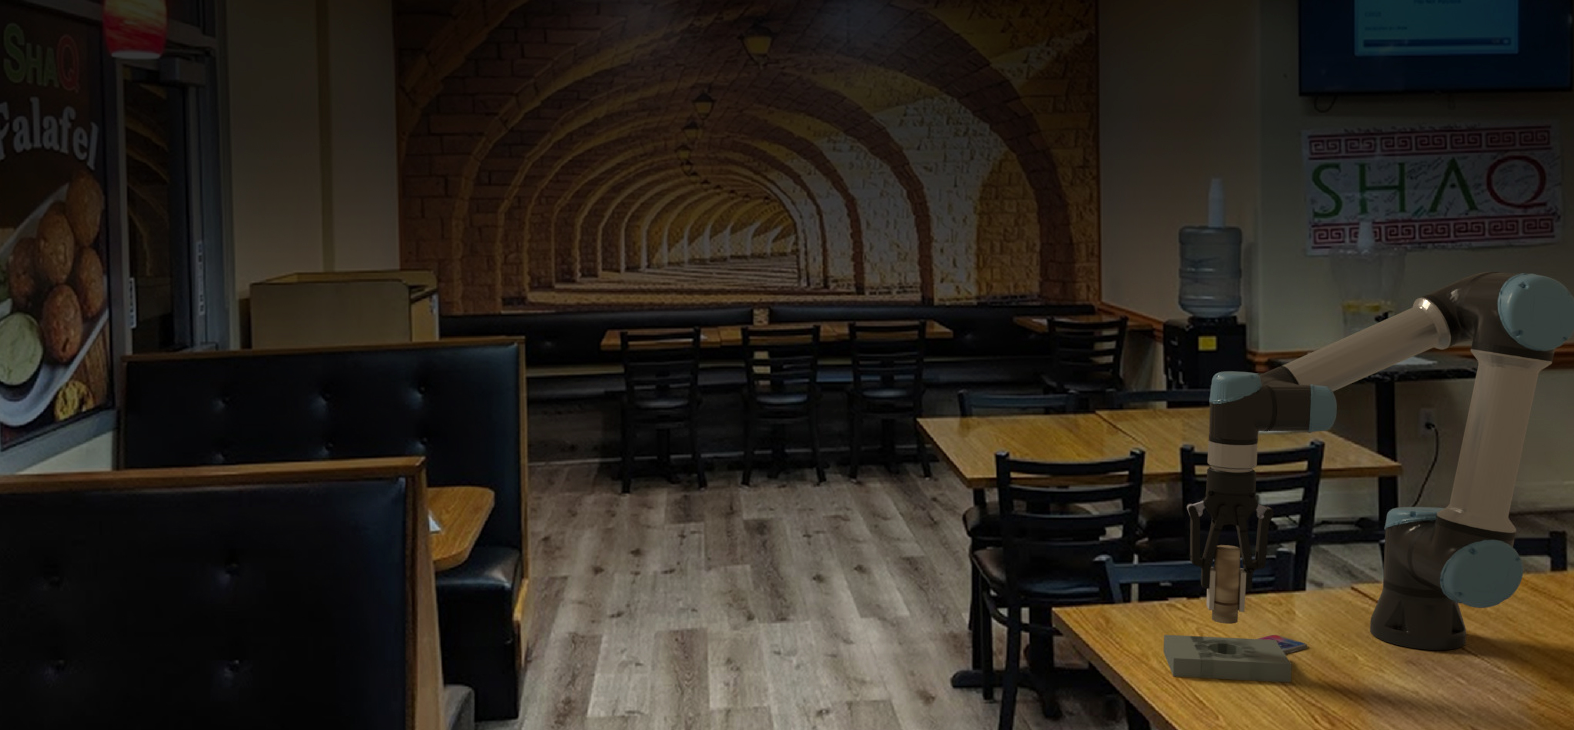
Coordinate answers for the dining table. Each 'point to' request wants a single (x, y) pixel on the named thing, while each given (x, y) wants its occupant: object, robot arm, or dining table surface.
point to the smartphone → (1286, 643)
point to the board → (1226, 658)
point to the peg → (1226, 584)
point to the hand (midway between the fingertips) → (1225, 608)
